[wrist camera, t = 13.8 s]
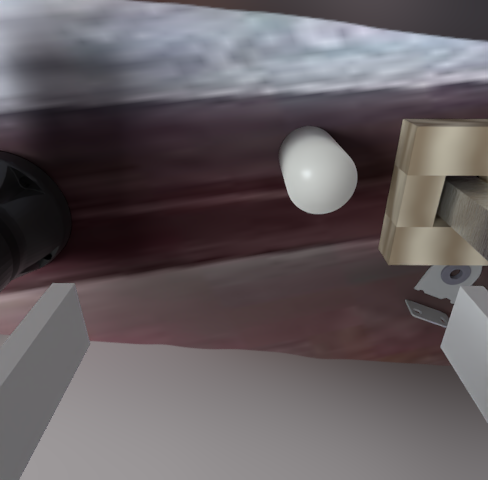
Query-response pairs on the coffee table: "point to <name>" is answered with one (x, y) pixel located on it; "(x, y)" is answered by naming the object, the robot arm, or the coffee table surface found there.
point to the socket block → (431, 191)
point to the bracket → (442, 289)
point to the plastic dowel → (316, 170)
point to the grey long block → (466, 209)
